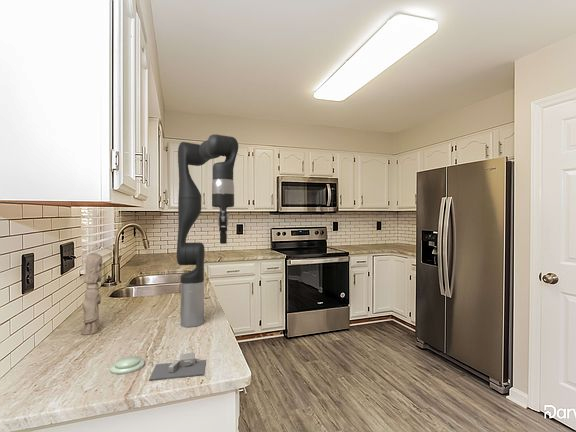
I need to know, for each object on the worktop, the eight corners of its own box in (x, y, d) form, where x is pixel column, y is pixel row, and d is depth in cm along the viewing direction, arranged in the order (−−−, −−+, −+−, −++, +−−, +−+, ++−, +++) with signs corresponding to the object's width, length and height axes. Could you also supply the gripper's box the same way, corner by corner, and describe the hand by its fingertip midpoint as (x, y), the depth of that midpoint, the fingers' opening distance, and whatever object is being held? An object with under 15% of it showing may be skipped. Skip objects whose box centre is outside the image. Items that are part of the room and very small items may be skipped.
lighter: (194, 352, 97) (195, 363, 89) (194, 358, 97) (195, 369, 89) (169, 355, 95) (168, 367, 87) (169, 361, 94) (168, 373, 87)
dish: (115, 361, 96) (115, 355, 96) (147, 358, 97) (147, 352, 97) (104, 375, 87) (104, 369, 87) (140, 372, 89) (140, 366, 89)
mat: (156, 365, 93) (156, 364, 93) (205, 361, 96) (205, 359, 96) (149, 380, 84) (149, 379, 84) (203, 375, 87) (203, 373, 87)
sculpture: (102, 332, 120) (102, 253, 121) (80, 336, 117) (80, 254, 117) (102, 327, 127) (102, 251, 127) (81, 330, 123) (82, 252, 124)
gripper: (212, 194, 115) (213, 242, 115) (211, 191, 102) (211, 245, 102) (233, 195, 117) (234, 242, 116) (234, 191, 104) (234, 244, 103)
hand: (223, 243), depth 109 cm, fingers closed
